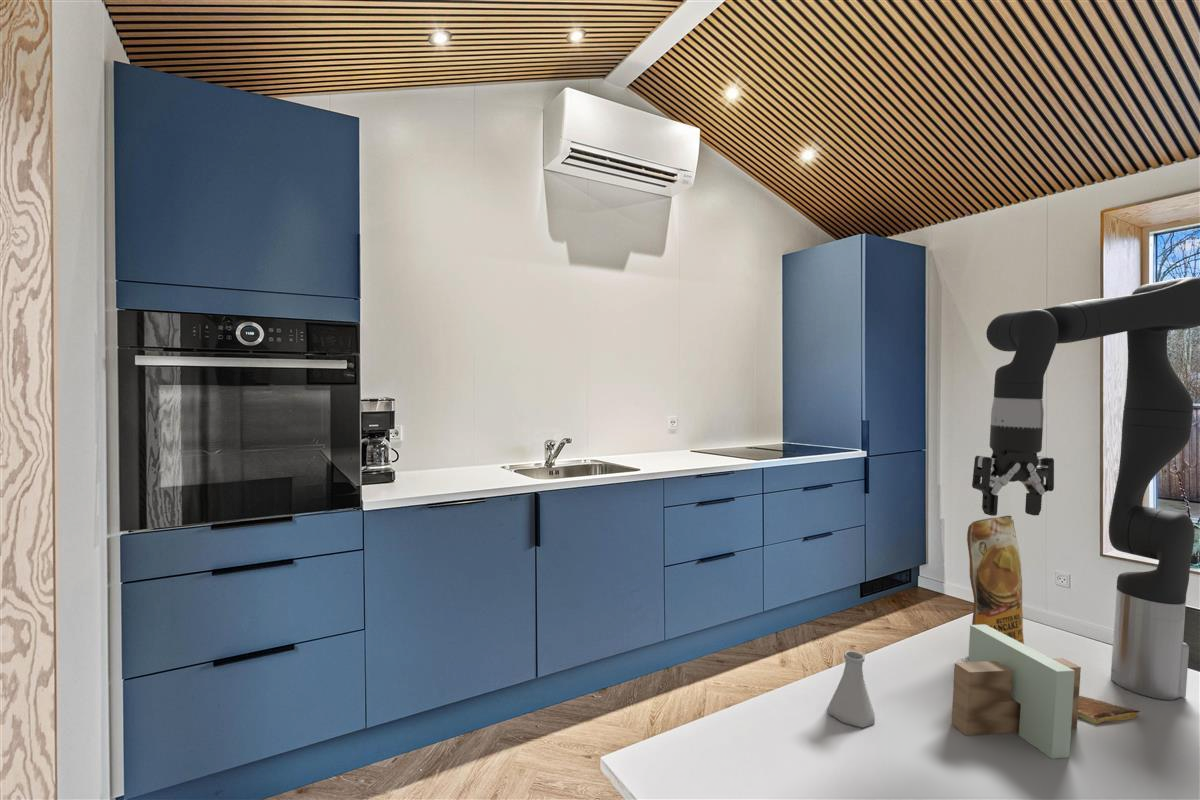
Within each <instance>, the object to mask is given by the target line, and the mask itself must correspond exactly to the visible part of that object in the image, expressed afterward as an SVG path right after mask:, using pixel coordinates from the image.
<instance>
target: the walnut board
mask: <svg viewBox="0 0 1200 800" xmlns="http://www.w3.org/2000/svg"><path fill="white" fill-rule="evenodd" d="M1052 659H1053V660H1055V661H1057V662H1059V663H1061V664H1063V665H1065V666H1067V667H1069V668H1071V669H1073V670H1075V675H1074V691H1073V707H1072V723H1071V730H1073V729H1074V730H1075V729H1078V719H1079V718H1078V704H1079V696H1080V686H1081V671H1082V669H1081V668H1082V666H1080V665H1077V664H1075V663H1073V662H1072V661H1070V660H1067V659H1065V658H1063V657H1058V658H1057V657H1056V658H1052ZM953 668H954V671H953V686H952V689H953V690H952V691H953V692H952V704H951V705H952V706H951V708H952V709H951V722H950V725H952V726H953V727H954V728H955V729H957V730H958V731H959V732H960V733H962V734H964V736H965V737H966V736H978V735H979V736H982V735H995V734H997V735H998V734H1013V733H1019V725H1020V709H1021V704H1020V703H1018V702H1017V701H1015V700H1013V699H1012V698H1011V682H1012V670H1011V669H1009V668H1007V667H1006V666H1004V665H1002V664H1000V663H999V662H997V661H985V662H968V661H966V662H965V661H963V662H954V667H953Z"/></svg>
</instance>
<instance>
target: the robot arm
mask: <svg viewBox="0 0 1200 800" xmlns="http://www.w3.org/2000/svg"><path fill="white" fill-rule="evenodd" d="M1197 327H1200V277H1196V276H1195V277H1194V276H1193V277H1192V276H1188V277H1180V278H1173V279H1169V280H1163V281H1157V282H1152V283H1146V284H1143V285H1141V286H1138V287H1137V288H1135V290H1134V291H1133V292H1132V294H1128V295H1121V296H1113V297H1112V296H1111V297H1101V298H1093V299H1085V300H1080V301H1079V300H1078V301H1073V302H1066V303H1061V304H1057V305H1053V306H1050V307H1045V308H1040V309H1039V308H1035V309H1028V310H1027V309H1026V310H1020V311H1019V310H1018V311H1013V312H1012V311H1011V312H1005V313H1002V314H999V315H997V316H996V317H994V318H993V319H992V320H991V322H989V324H988V326H987V329H986V334H985V335H986V339H987V341H988V343H989V344H990V345H991V346H992V347H993V348H994V349H997V350H999V351H1002V352H1008V353H1009V352H1015V353H1014V356H1013V358H1012V360H1011V361H1010V362H1009V363H1008V364H1005V365H1002V366H999V367H998V368H997V369H996V371H995V374H994V384H993V401H992V406H991V412H990V427H989V428H990V429H989V430H990V431H989V432H990V433H989V448H990V449H991V450H992V453H991V456H990V457H989V456H984V455H975V457H974V463H973V473H972V480H971V481H972V483H971V487H972V488H973V489H975V490H978V491H980V492H981V494H982V499H981V500H982V501H981V502H982V503H981V510H982V512H983V514H984V515H989V516H991V517H996V516H997V515H998V506H999V495H998V493H999V492H1000V490H1002V488H1003V487H1005V486H1006V485H1008V484H1009V482H1012V483H1013V482H1020V483H1021V484H1023V486H1024V487H1025V489H1026V490H1027V492H1026V493H1025V514H1027V515H1031V516H1040V512H1041V511H1042V503H1043V502H1042V499H1043V498H1042V497H1043V495H1044V494H1045V493H1047V492H1053V491H1054V489H1055V459H1054V458H1053V457H1048V456H1041V455H1038V453H1041V452H1042V450H1043V449H1042V448H1043V434H1044V433H1043V431H1044V406H1043V405H1044V402H1043V401H1044V400H1043V397H1044V396H1043V395H1044V383H1045V382H1044V378H1045V375H1046V371H1047V369H1048V367H1049V365H1050V362H1051V358H1052V357H1053V353H1054V352H1055V348H1056V346H1057V345H1059V344H1068V343H1076V342H1080V341H1087V340H1091V339H1096V338H1101V337H1107V336H1110V335H1111V336H1112V335H1117V334H1120V333H1126V335H1127V336H1126V337H1127V371H1126V373H1127V374H1126V387H1125V388H1126V390H1125V397H1124V405H1123V410H1122V411H1123V413H1122V424H1121V440H1120V442H1121V443H1120V455H1119V466H1118V467H1119V468H1118V474H1117V480H1116V484H1115V489H1114V495H1113V500H1112V504H1111V511H1110V516H1109V522H1108V538H1109V543H1110V544H1111V546H1112V548H1114V549H1115V550H1116V551H1119V552H1122V553H1124V554H1125V553H1126V554H1130V555H1133V556H1138V557H1142V558H1148V559H1152V560H1156V561H1158V564H1157V567H1156V569H1153V570H1148V571H1127V572H1122V573H1119V574H1118V576H1117V579H1116V594H1115V607H1114V608H1115V609H1114V624H1113V626H1114V627H1113V637H1112V638H1113V640H1112V650H1111V651H1112V653H1111V654H1112V655H1111V667H1110V679H1111V680H1112V681H1113V682H1114V683H1115V684H1116V685H1118V686H1120V687H1121V688H1124V689H1126V690H1128V691H1131V692H1133V693H1136V694H1138V695H1141V696H1146V697H1149V698H1153V699H1158V700H1165V701H1166V700H1168V701H1170V700H1172V701H1173V700H1178V699H1179V698H1186V696H1187V680H1188V679H1187V678H1188V667H1189V654H1190V646H1189V644H1188V643H1186V642H1184V631H1185V620H1186V619H1185V617H1186V615H1185V614H1186V602H1187V593H1188V588H1189V584H1190V583H1189V582H1190V571H1191V564H1192V557H1193V550H1194V544H1195V526H1194V523H1193V519H1191V517H1190V516H1189V515H1187V514H1185V513H1183V512H1178V511H1173V510H1169V509H1168V510H1167V509H1161V508H1156V507H1155V508H1154V507H1148V506H1144V505H1143V501H1144V496H1145V494H1146V490H1147V488H1148V486H1149V485H1150V483H1151V481H1152V480H1153V479H1155V478H1154V477H1156V475H1157V474H1158V473H1159V472H1160V471H1161V470H1162V469H1163V468H1165V466H1166V465H1168V464H1169V463H1170V462H1171V461H1172V460H1173V459H1174V458H1175V457H1176V456H1177V455H1178V454H1179V453H1180V452H1181V451H1182V450H1184V448H1185V447H1186V446H1187V444H1188V442H1189V441H1190V439H1191V434H1192V428H1193V427H1192V425H1193V416H1194V415H1193V413H1194V403H1193V399H1192V396H1191V394H1190V392H1189V390H1188V389H1187V388H1186V386H1185V384H1184V383H1183V381H1182V380H1181V378H1180V377H1179V376H1178V374H1177V373H1176V371H1175V370H1174V368H1173V366H1172V365H1171V361H1170V359H1169V356H1168V334H1169V331H1176V330H1187V329H1189V330H1190V329H1193V328H1197Z"/></svg>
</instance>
